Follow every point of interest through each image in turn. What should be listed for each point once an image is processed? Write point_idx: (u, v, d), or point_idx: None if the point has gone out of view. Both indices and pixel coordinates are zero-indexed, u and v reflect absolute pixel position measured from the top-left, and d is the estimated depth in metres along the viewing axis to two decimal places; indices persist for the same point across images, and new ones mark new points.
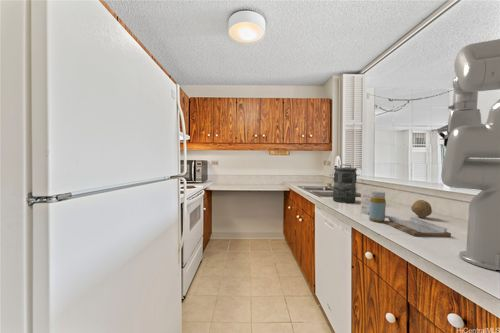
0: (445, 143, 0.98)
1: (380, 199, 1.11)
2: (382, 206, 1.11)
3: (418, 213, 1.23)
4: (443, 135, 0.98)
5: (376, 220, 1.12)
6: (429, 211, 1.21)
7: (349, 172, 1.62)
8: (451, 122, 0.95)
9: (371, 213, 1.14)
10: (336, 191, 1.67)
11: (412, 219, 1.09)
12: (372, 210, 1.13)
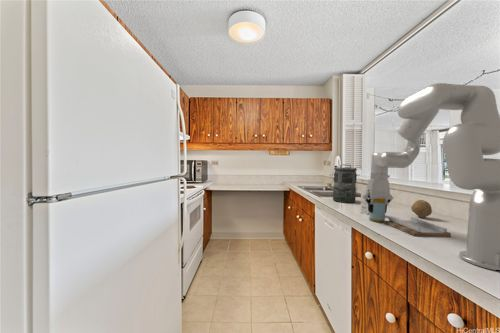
0: None
1: (380, 199, 1.11)
2: (382, 206, 1.11)
3: (418, 213, 1.23)
4: None
5: (376, 220, 1.12)
6: (429, 211, 1.21)
7: (349, 172, 1.62)
8: None
9: (371, 213, 1.14)
10: (336, 191, 1.67)
11: (412, 219, 1.09)
12: None
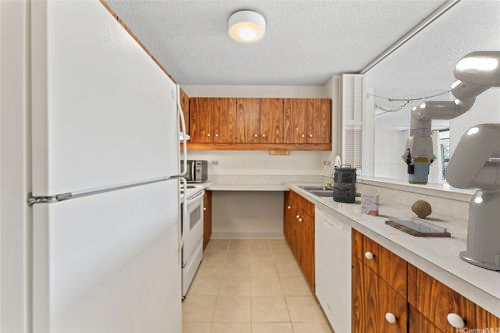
0: None
1: (423, 157, 0.97)
2: (425, 165, 0.97)
3: (418, 213, 1.23)
4: None
5: (418, 182, 0.98)
6: (429, 211, 1.21)
7: (349, 172, 1.62)
8: None
9: (411, 175, 1.00)
10: (336, 191, 1.67)
11: (412, 219, 1.09)
12: None
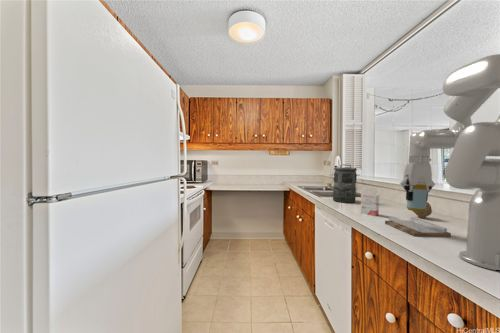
0: None
1: (421, 185, 0.98)
2: (424, 193, 0.97)
3: (418, 213, 1.23)
4: None
5: (416, 209, 0.98)
6: (429, 211, 1.21)
7: (349, 172, 1.62)
8: None
9: (410, 201, 1.00)
10: (336, 191, 1.67)
11: (412, 219, 1.09)
12: None
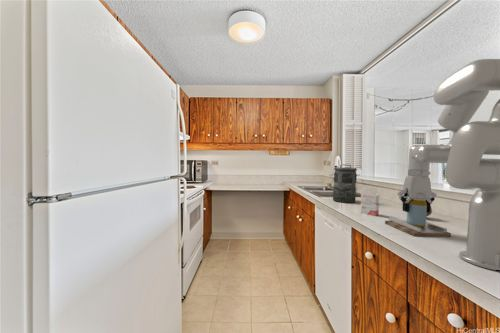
0: None
1: (421, 201, 0.98)
2: (423, 209, 0.97)
3: None
4: None
5: (416, 225, 0.98)
6: None
7: (349, 172, 1.62)
8: None
9: (410, 217, 1.00)
10: (336, 191, 1.67)
11: None
12: (411, 213, 1.00)
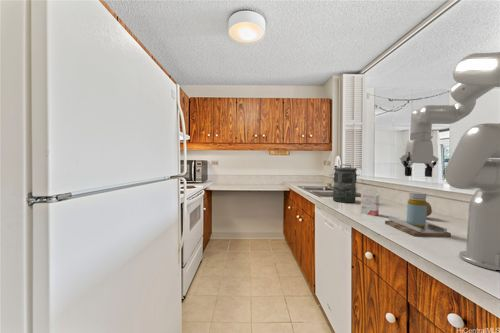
0: None
1: (421, 201, 0.98)
2: (423, 209, 0.97)
3: None
4: None
5: (416, 225, 0.98)
6: (429, 211, 1.21)
7: (349, 172, 1.62)
8: None
9: (410, 217, 1.00)
10: (336, 191, 1.67)
11: None
12: (411, 213, 1.00)
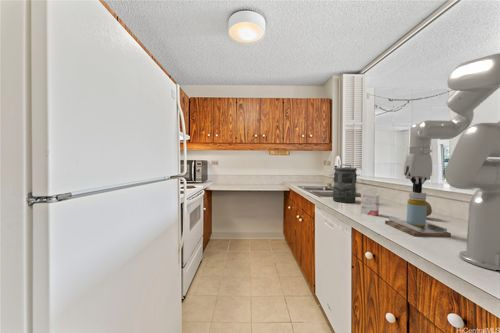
0: None
1: (421, 201, 0.98)
2: (423, 209, 0.97)
3: None
4: None
5: (416, 225, 0.98)
6: (429, 211, 1.21)
7: (349, 172, 1.62)
8: None
9: (410, 217, 1.00)
10: (336, 191, 1.67)
11: None
12: (411, 213, 1.00)
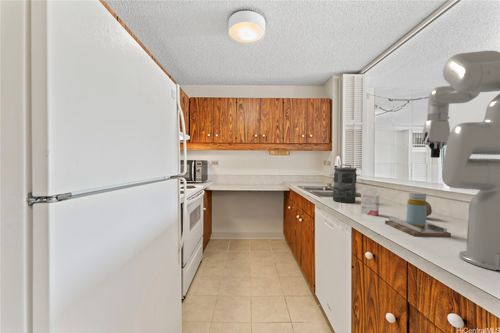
0: None
1: (421, 201, 0.98)
2: (423, 209, 0.97)
3: None
4: None
5: (416, 225, 0.98)
6: (429, 211, 1.21)
7: (349, 172, 1.62)
8: None
9: (410, 217, 1.00)
10: (336, 191, 1.67)
11: None
12: (411, 213, 1.00)
